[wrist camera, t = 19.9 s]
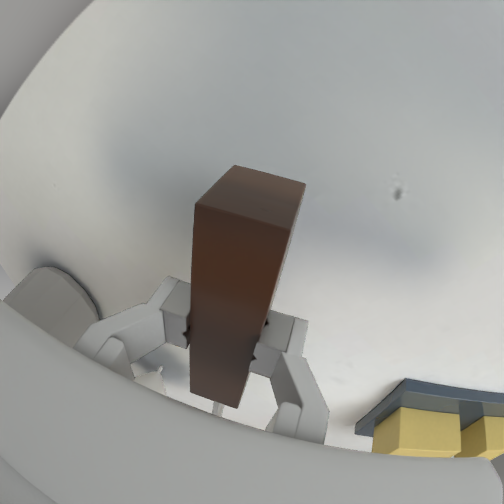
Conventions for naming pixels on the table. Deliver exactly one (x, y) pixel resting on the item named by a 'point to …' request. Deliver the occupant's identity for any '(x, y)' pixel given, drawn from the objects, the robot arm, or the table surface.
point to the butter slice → (483, 438)
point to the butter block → (418, 434)
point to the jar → (54, 304)
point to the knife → (236, 275)
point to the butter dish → (434, 404)
